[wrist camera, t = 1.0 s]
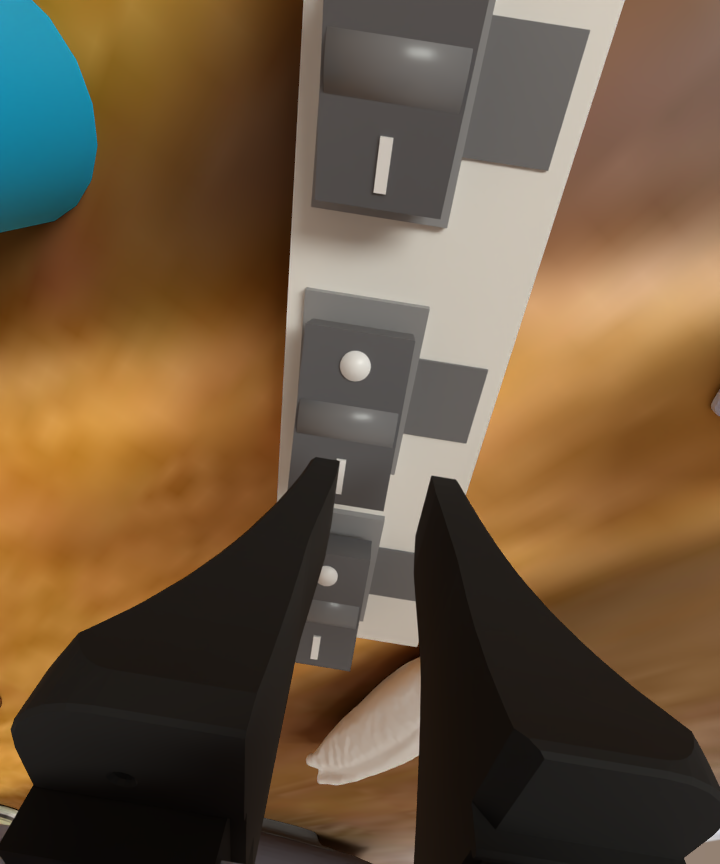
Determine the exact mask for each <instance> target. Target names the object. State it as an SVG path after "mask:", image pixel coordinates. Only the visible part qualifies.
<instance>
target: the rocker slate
mask: <svg viewBox="0 0 720 864" xmlns="http://www.w3.org/2000/svg"><path fill="white" fill-rule="evenodd" d="M371 544H372V541H369V540H363V539H357V538H351V537H345V536H338V535H332V534H329V540H328V545H327V550H326V556H325V560H324V563H323V567H322V570H321V573H320V577H319V580H318V583H317V587H316V590H315V593H314V597H313V600H312V603H311V607H310V610H309V613H308V616H307V620H306V623H305V626H304V630H303V633H302V636H301V640H300V644H299V647H298V651H297V655H296V660H295V662H296V663H302V664H308V665H314V666H320V667H326V668H333V669H339V670H345V671H350V669H351V664H352V658H353V653H354V647H355V642H356V637H357V631H358V626H359V620H360V615H361V609H362V604H363V598H364V593H365V588H366V582H367V577H368V571H369V566H370V560H371Z"/></svg>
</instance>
